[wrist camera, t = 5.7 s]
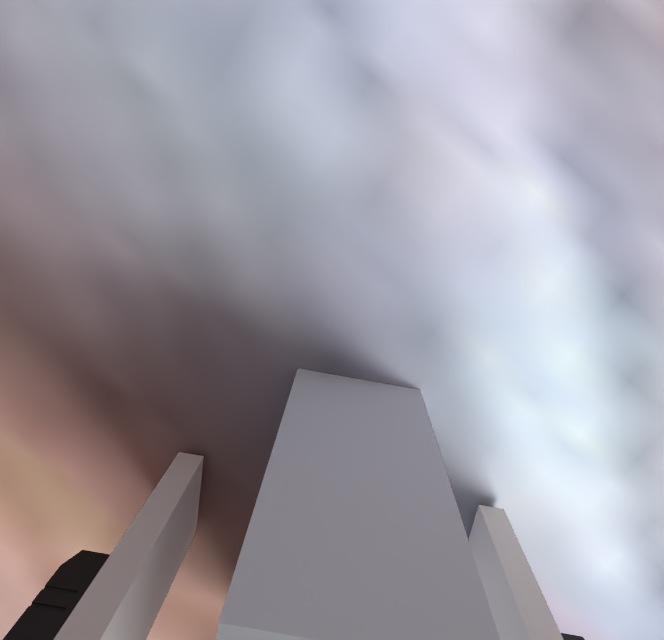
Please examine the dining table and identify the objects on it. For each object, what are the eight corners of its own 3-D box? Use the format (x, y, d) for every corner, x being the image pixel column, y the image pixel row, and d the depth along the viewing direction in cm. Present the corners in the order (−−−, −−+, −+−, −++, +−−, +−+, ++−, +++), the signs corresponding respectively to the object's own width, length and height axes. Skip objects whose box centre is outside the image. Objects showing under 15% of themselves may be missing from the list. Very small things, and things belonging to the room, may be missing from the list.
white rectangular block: (298, 367, 13) (217, 622, 5) (419, 388, 13) (511, 673, 5) (259, 612, 16) (167, 1022, 8) (361, 630, 16) (368, 1056, 8)
